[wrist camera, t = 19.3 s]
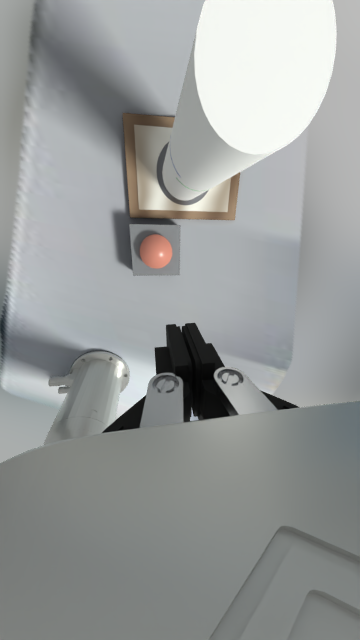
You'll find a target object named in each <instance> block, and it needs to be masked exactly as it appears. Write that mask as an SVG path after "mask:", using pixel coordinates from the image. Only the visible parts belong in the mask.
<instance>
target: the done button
mask: <svg viewBox="0 0 360 640" xmlns="http://www.w3.org/2000/svg"><path fill="white" fill-rule="evenodd" d="M140 256H141V259H142V261H143V262H144V263H145V264H146V265H147V266H149V267H151V268H156V269H157V268H162V267H164V266H166V265H167V264H168V263H169V262H170V260H171V257H172V247H171V244H170V242H169V241H168V240H167V239H166V238H165V237H163V236H161V235H158V234H153V235H149V236H147V237H146V238H145V239H144V240H143V241H142V243H141V246H140Z"/></svg>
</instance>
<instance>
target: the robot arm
mask: <svg viewBox="0 0 360 640" xmlns="http://www.w3.org/2000/svg"><path fill="white" fill-rule="evenodd" d="M166 337H167V347H157V348H155V360H156V376H154V377H153V378H152V379H151V380H150V382H149V384H148V389H147V394H146V396H145V397H143V398H142V399H141V400H140V401H138V402H137V403H136V404H135V405H134V406H132V407H131V408H130V409H129V410H128V411H126V412H125V413H124V414H123V415H122V416H120V417H119V418H118V419H117V420H115V418H116V412H117V407H118V401H119V395H120V393H121V392H122V391H123V390H124V389H125V388H126V386H127V385H128V382H129V377H130V373H129V368H128V366H127V364H126V363H125V362H124V361H123V360H122V359H121V358H120V357H118V356H117V355H115V354H112V353H109V352H104V351H94V352H89V353H86V354H84V355H82V356H80V357H79V358H78V359H77V360H76V361H75V362H74V363H73V365H72V367H71V370H70V374H67V375H66V376H62V377H61V376H55V377H50V378H49V386H60V385H65V386H67V387H59V389H58V393H59V394H62V393H67V395H66V397H65V400H64V402H63V404H62V406H61V408H60V410H59V412H58V414H57V416H56V418H55V421H54V423H53V425H52V427H51V429H50V431H49V433H48V435H47V437H46V440H45V442H44V445H43V446H40V447H38V448H34V449H31V450H28V451H26V452H24V453H22V454H19V455H17V456H15V457H12V458H11V459H8V460H6V461H4V462H2V463H0V640H360V401H354V402H343V403H333V404H326V405H325V404H324V405H317V406H309V407H301V408H300V407H298V406H296V405H294V404H291V403H289V402H287V401H284V400H282V399H280V398H277V397H275V396H272V395H270V394H268V393H265V392H263V391H260V390H259V389H258V388H257V387H256V385H255V384H254V383H253V382H252V381H251V380H250V379H249V378H248V377H247V376H246V375H245V374H244V373H243V372H242V371H241V370H239V369H236V368H233V367H225V366H224V364H223V363H222V361H221V359H220V357H219V356H218V354H217V352H216V350H215V348H214V347H213V345H212V344H211V343H207V344H206V343H205V341H204V339H203V337H202V335H201V333H200V331H199V330H198V328H197V326H196V324H195V323H187V324H185V326H182V332H181V329H180V326H178V327H176V324H171V325H166ZM68 386H70V387H68ZM191 408H192V410H193V414H194V417H196V416H198V419H199V420H197V421H190V417H191Z"/></svg>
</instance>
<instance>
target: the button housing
mask: <svg viewBox="0 0 360 640" xmlns="http://www.w3.org/2000/svg"><path fill="white" fill-rule="evenodd" d="M129 227H130V241H131V254H132V267H133V276H147V275H180V225H149V224H129ZM153 234H158V235H161V236H163V237H165V238H166V239H167V240H168V241H169V242H170V244H171V247H172V257H171V260H170V262H169V263H168V264H167V265H166V266H164V267H162V268H157V269H156V268H151V267H149V266H147V265H146V264H145V263H144V262H143V261H142V259H141V256H140V246H141V243H142V241H143V240H144V239H145V238H146V237H147V236H149V235H153Z"/></svg>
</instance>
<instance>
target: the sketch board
mask: <svg viewBox="0 0 360 640" xmlns="http://www.w3.org/2000/svg"><path fill="white" fill-rule="evenodd" d="M174 120H175V117H164V116H153V115H142V114H130V113H123V126H124V140H125V154H126V168H127V181H128V195H129V209H130V218H168V219H208V220H235V213H236V204H237V195H238V187H239V178H240V172H239V173H237V174H236V175H234V176H232V177H230V178H229V179H227V180H225V181H223V182H222V183H220V184H218V185H216V186H215V187H213V188H211V189H209V190H208V191H206V192H204V193H202V194H201V195H199V196H197V197H195V198H194V199H191V200H186V201H184V200H179V199H177V198H175V197H173V196H172V195H171V194H170V193H169V192H168V190H167V189H166V187H165V185H164V181H163V175H162V170H163V164H164V160H165V156H166V152H167V148H168V144H169V140H170V136H171V132H172V128H173V124H174Z"/></svg>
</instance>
